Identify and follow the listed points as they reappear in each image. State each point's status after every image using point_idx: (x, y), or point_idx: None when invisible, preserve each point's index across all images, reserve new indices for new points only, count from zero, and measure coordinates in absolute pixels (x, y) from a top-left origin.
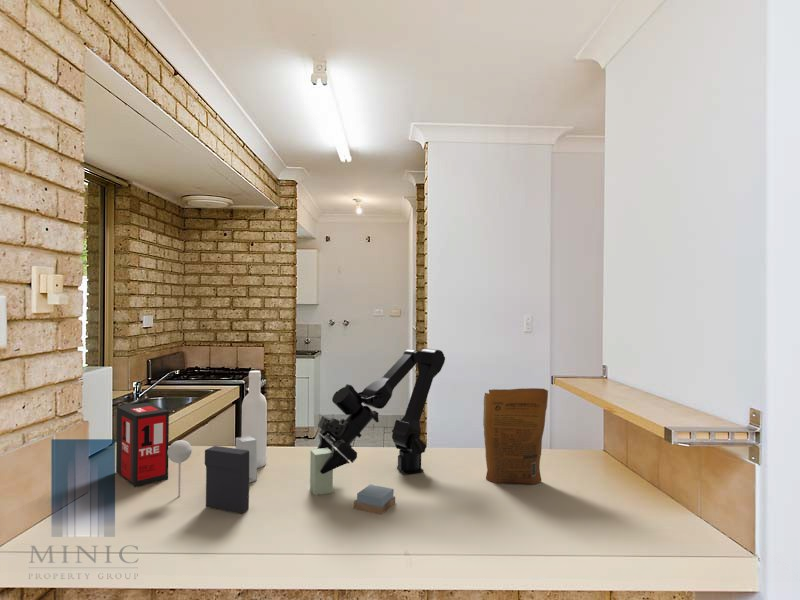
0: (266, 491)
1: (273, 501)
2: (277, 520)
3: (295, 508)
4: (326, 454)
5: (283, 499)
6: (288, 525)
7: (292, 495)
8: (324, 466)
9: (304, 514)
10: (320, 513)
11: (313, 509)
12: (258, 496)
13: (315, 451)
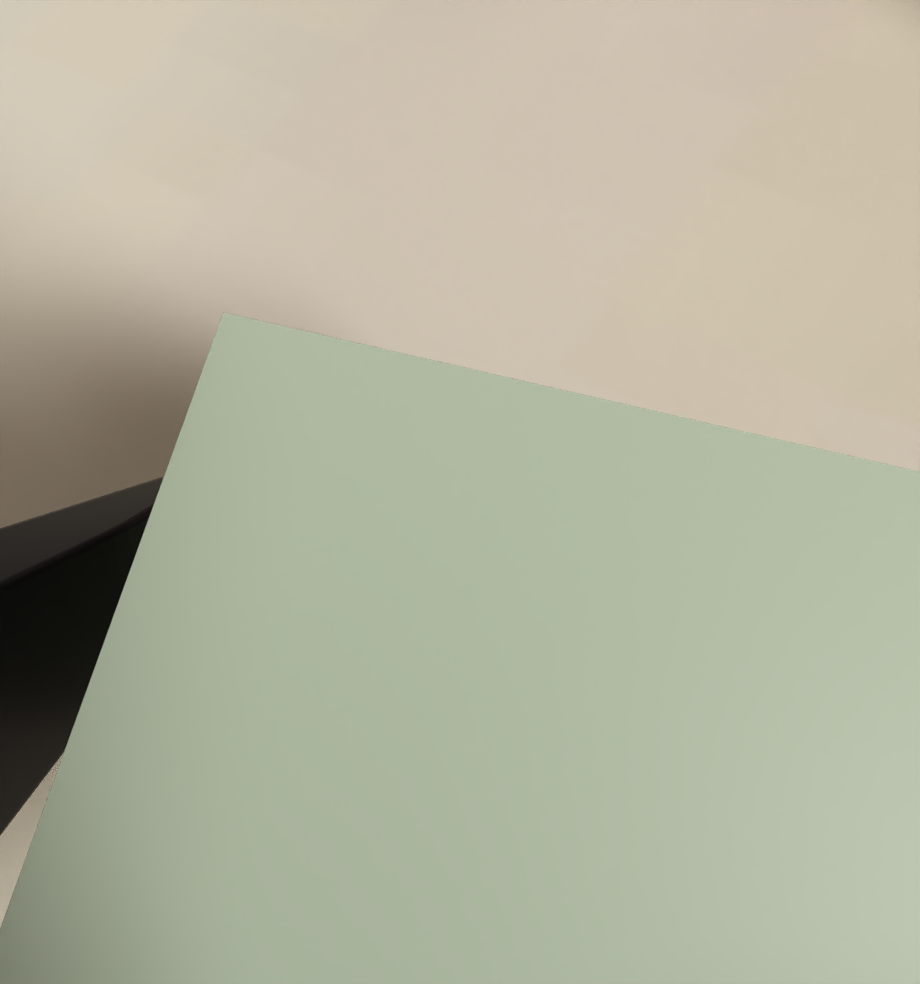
0: (864, 163)
1: (557, 128)
2: (169, 22)
3: (271, 226)
4: (85, 771)
5: (542, 220)
6: (32, 57)
7: (584, 335)
8: (33, 519)
9: (106, 236)
10: (19, 358)
11: (135, 347)
12: (773, 58)
13: (621, 540)
